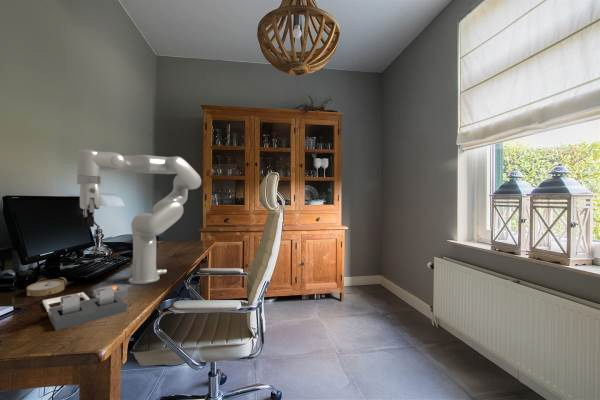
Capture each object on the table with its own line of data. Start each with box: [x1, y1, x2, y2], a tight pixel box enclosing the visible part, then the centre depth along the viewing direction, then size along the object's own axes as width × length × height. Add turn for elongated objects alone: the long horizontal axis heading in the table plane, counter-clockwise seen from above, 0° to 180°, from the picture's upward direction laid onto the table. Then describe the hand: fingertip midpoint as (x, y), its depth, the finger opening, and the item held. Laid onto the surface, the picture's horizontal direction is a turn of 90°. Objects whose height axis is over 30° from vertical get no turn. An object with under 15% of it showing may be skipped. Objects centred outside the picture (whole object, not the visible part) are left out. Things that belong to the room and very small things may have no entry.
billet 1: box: [60, 293, 81, 316], centre depth 86 cm, size 4×4×7 cm
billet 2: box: [96, 286, 114, 307], centre depth 93 cm, size 4×4×7 cm
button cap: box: [106, 285, 117, 291], centre depth 105 cm, size 4×4×2 cm
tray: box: [42, 291, 90, 313], centre depth 98 cm, size 12×12×2 cm
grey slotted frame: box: [48, 294, 128, 331], centre depth 89 cm, size 18×14×3 cm
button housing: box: [93, 284, 129, 299], centre depth 105 cm, size 9×9×3 cm
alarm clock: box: [26, 276, 68, 297], centre depth 111 cm, size 11×5×15 cm
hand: (88, 226), depth 108 cm, fingers closed
